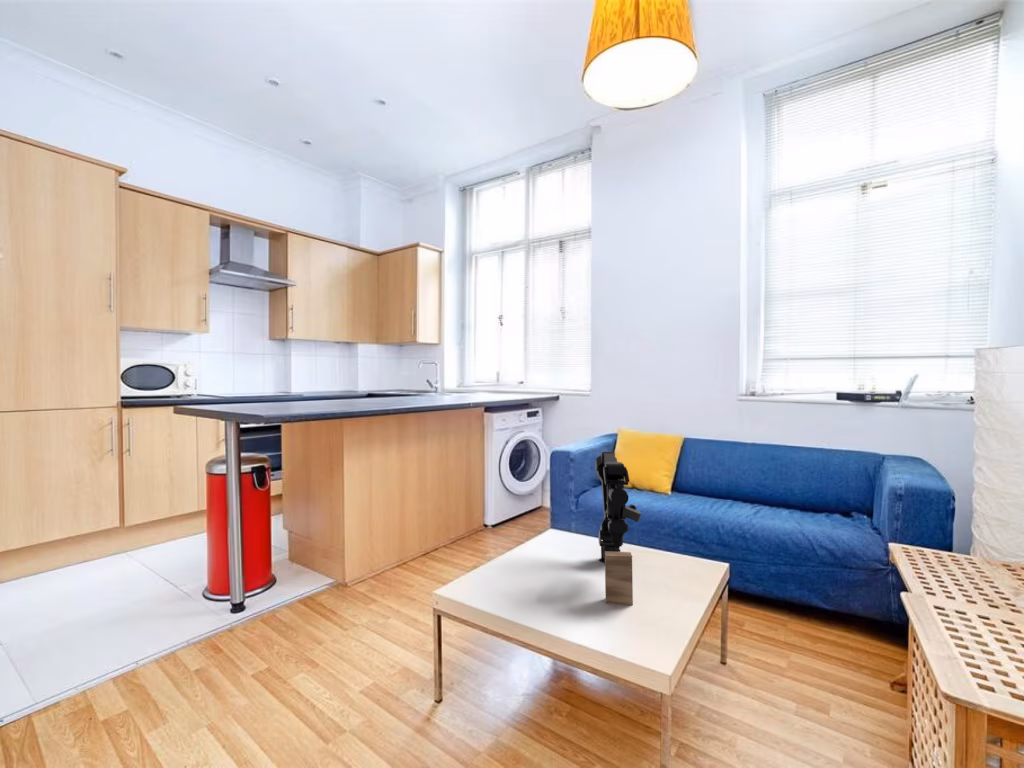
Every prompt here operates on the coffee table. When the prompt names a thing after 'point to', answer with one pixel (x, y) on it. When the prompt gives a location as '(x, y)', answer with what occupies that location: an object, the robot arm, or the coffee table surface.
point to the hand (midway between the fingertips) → (616, 544)
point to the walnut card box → (618, 578)
